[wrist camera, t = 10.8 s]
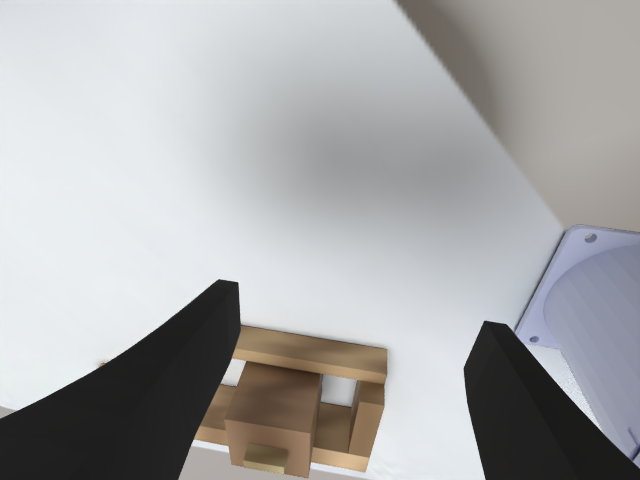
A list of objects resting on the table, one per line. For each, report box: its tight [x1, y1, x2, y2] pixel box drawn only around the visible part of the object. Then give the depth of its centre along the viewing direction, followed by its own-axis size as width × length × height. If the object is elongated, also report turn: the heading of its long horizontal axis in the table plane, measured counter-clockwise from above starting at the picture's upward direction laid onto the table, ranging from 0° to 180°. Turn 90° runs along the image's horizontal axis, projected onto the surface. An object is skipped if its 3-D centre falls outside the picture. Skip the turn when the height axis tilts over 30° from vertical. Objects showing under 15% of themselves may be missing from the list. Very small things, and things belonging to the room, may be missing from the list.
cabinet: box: [224, 361, 323, 478], centre depth 24 cm, size 5×5×7 cm
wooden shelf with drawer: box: [100, 325, 387, 472], centre depth 26 cm, size 22×9×4 cm, turn 86°
